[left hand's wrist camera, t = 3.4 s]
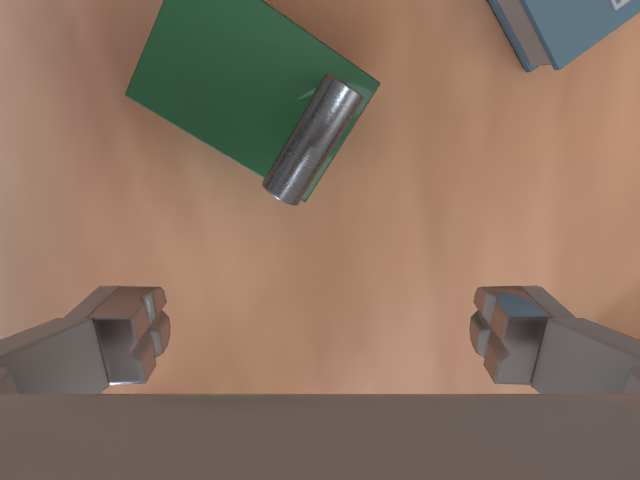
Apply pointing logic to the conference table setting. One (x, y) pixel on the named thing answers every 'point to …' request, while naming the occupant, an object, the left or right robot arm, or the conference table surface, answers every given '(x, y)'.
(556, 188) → the conference table surface
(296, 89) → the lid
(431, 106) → the conference table surface
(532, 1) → the book
